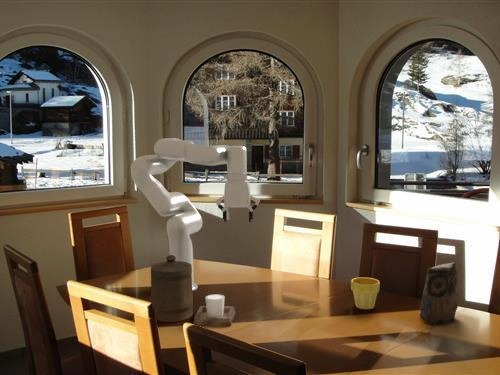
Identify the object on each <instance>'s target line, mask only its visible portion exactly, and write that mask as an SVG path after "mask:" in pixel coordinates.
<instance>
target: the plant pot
mask: <svg viewBox="0 0 500 375" xmlns="http://www.w3.org/2000/svg"><path fill="white" fill-rule="evenodd" d="M380 284H381V282H380V280H378V279H376V278H372V277H355V278H352V279H351V280H350V290H351V291H352V293H353V298H354V303H355V307H356V308H358V309H360V310H371V309H374V307H375V304H376V300H377V295H378V293H379V292H380V286H381V285H380Z"/></svg>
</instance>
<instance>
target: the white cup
mask: <svg viewBox="0 0 500 375" xmlns="http://www.w3.org/2000/svg"><path fill="white" fill-rule="evenodd" d="M204 299H205V306H206V309H207V317H223V314H224V306H225V299H226V297H225V295H223V294H219V293H217V294H216V293H215V294H209V295H206V296H205V297H204Z"/></svg>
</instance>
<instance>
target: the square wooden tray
mask: <svg viewBox="0 0 500 375" xmlns="http://www.w3.org/2000/svg"><path fill="white" fill-rule="evenodd" d="M235 315H236V310H235V306H226V305H224V314H223V317H207V309H206V305H200V306H199V308H198V310H197V312H196V314H195V316H194V318H193V322H192V325H193V324H197V325H196V326H202V325H205V326H207V327H208V326H209V327H210V326H211V327H212V326H215V327H223V326H224V327H232V324H233V320H234V318H235ZM205 326H204V327H205Z"/></svg>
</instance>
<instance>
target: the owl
mask: <svg viewBox="0 0 500 375" xmlns="http://www.w3.org/2000/svg"><path fill="white" fill-rule="evenodd" d="M457 286H458V272H457V269H456V262H455V261H453V262H449V263H443V264H438V265H435V266H433V267H429V268H428V269H427V271H426V276H425V285H424V288H423V290H422V291H423V292H422V298H421V303H420V307H419V311H420V313H419V314H420V315H421V317H422V318H423V320H424V321H425V322H426V324H427V325H429V326H438V327H442V326H445V325H449V324H450V323H454V322H455V317H456V312H457V311H458V310H457V309H458V308H459V306H458V304H459V299H458V296H459V295H458V293H457Z"/></svg>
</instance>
